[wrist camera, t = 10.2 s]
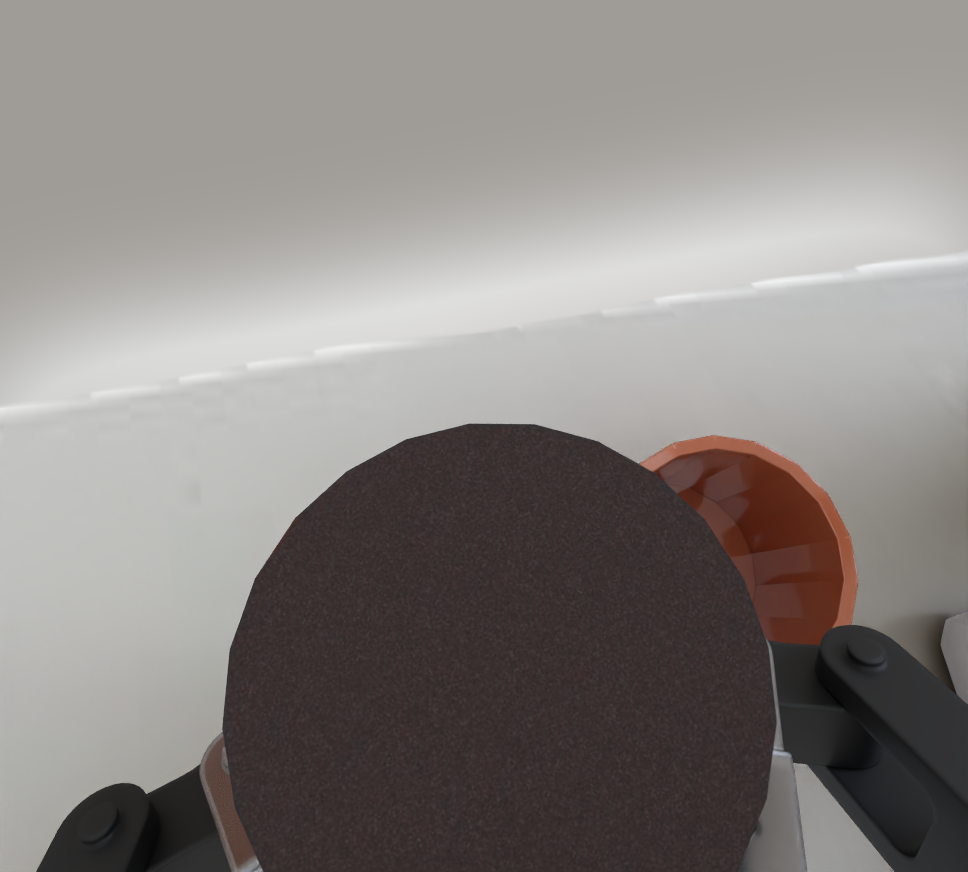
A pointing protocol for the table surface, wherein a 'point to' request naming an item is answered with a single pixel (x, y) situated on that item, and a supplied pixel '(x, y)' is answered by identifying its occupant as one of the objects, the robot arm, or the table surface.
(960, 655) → the tube
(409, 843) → the deodorant
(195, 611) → the table surface
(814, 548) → the cup
